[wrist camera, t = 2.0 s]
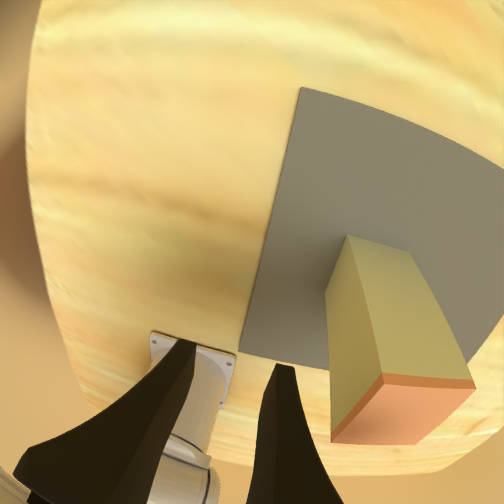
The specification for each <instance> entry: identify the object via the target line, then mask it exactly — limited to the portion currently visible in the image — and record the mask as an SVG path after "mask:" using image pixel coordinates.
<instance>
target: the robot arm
mask: <svg viewBox="0 0 504 504" xmlns="http://www.w3.org/2000/svg"><path fill="white" fill-rule="evenodd" d="M149 339H150V352H151V366H150V368H149V370H148V372H147V374H146V376H145V377H144V378H143V379H141V380H140V381H139V382H138V383H137V384H136V385H135V386H134V387H132V388H131V389H130V390H129V391H128V392H127V393H126V394H124V395H123V396H122V397H121V398H119V399H118V400H117V401H116V402H114V403H113V404H112V405H110V406H109V407H107V408H106V409H105V410H103V411H102V412H100V413H99V414H97V415H96V416H94V417H93V418H91V419H90V420H88V421H86V422H84V423H83V424H81V425H79V426H77V427H75V428H73V429H72V430H70V431H67V432H65V433H64V434H62V435H59V436H57V437H56V438H53V439H50V440H48V441H45V442H43V443H40V444H38V445H35V446H32V447H29V448H28V449H27V451H26V452H25V453H24V454H23V456H22V457H21V459H20V460H19V462H18V464H17V466H16V468H15V470H14V472H13V476H14V477H15V478H16V479H17V480H18V481H19V482H21V483H22V484H23V485H25V486H26V487H27V488H29V489H30V490H31V491H30V490H29V489H27V488H26V487H25V486H23V485H22V484H21V483H19V482H18V481H17V480H15V479H14V478H13V477H11V476H10V475H9V474H8V473H6V472H5V471H4V470H3V468H2V467H1V466H0V504H217V503H218V499H219V495H220V479H219V477H218V475H217V472H216V470H215V469H214V468H212V467H209V465H210V461H211V456H208V455H206V452H207V449H208V445H209V442H210V438H211V435H212V431H213V427H214V424H215V420H216V417H217V413H218V409H223V408H224V405H225V401H226V397H227V393H228V390H229V386H230V382H231V378H232V374H233V370H234V366H235V362H236V357H235V356H234V355H232V354H228V353H224V352H221V351H217V350H213V349H209V348H206V347H202V346H199V345H197V343H194V342H191V341H187V340H184V339H179V340H178V339H175V338H172V337H169V336H166V335H162V334H159V333H156V332H152V333H151V334H150V336H149ZM229 362H230V363H229ZM246 504H344V503H343V502H342V500H341V498H340V496H339V495H338V493H337V491H336V489H335V488H334V486H333V484H332V482H331V481H330V479H329V477H328V475H327V473H326V471H325V469H324V466H323V464H322V462H321V460H320V457H319V455H318V453H317V450H316V448H315V445H314V442H313V439H312V437H311V434H310V431H309V428H308V425H307V421H306V418H305V414H304V411H303V407H302V404H301V399H300V395H299V391H298V386H297V380H296V374H295V369H294V367H292V366H287V365H282V364H278V363H276V365H275V368H274V370H273V372H272V375H271V377H270V380H269V382H268V384H267V387H266V389H265V391H264V394H263V399H262V404H261V409H260V413H259V420H258V430H257V440H256V450H255V460H254V469H253V475H252V480H251V485H250V489H249V493H248V498H247V502H246Z"/></svg>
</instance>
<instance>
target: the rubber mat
mask: <svg viewBox="0 0 504 504" xmlns="http://www.w3.org/2000/svg"><path fill="white" fill-rule="evenodd" d="M347 235H351V236H354V237H358V238H361V239H365V240H369V241H372V242H376V243H379V244H383V245H386V246H390V247H393V248H397V249H400V250H403V251H407V252H409V253H410V255H411V256H412V258H413V260H414V261H415V263H416V265H417V266H418V268H419V270H420V272H421V273H422V275H423V277H424V279H425V280H426V282H427V284H428V286H429V288H430V289H431V291H432V293H433V295H434V297H435V299H436V301H437V302H438V304H439V306H440V308H441V310H442V312H443V314H444V316H445V318H446V320H447V322H448V324H449V326H450V328H451V330H452V333H453V335H454V337H455V339H456V341H457V343H458V346H459V348H460V350H461V352H462V355H463V357H464V359H465V362H466V364H467V363H468V362H469V361H470V360H471V358H472V357H473V356H474V355H475V353H476V352H477V351H478V350H479V348H480V347H481V346H482V344H483V343H484V342H485V340H486V339H487V337H488V336H489V335H490V333H491V332H492V330H493V329H494V328H495V326H496V325H497V323H498V322H499V320H500V319H501V317H502V316H503V314H504V169H502V168H501V167H499V166H497V165H496V164H494V163H492V162H491V161H489V160H487V159H485V158H484V157H482V156H480V155H478V154H477V153H475V152H473V151H471V150H469V149H467V148H465V147H463V146H462V145H460V144H458V143H456V142H454V141H452V140H450V139H448V138H446V137H443V136H441V135H439V134H437V133H435V132H433V131H431V130H428V129H426V128H424V127H422V126H419V125H417V124H415V123H412V122H410V121H407V120H405V119H402V118H400V117H397V116H395V115H392V114H389V113H387V112H384V111H381V110H379V109H376V108H373V107H370V106H367V105H364V104H361V103H358V102H355V101H352V100H348V99H345V98H342V97H338V96H335V95H332V94H328V93H324V92H321V91H317V90H313V89H309V88H305V87H301V91H300V95H299V100H298V104H297V108H296V113H295V117H294V122H293V126H292V130H291V135H290V139H289V143H288V148H287V152H286V156H285V160H284V165H283V169H282V173H281V178H280V182H279V186H278V190H277V194H276V199H275V203H274V207H273V211H272V215H271V220H270V224H269V228H268V232H267V236H266V240H265V245H264V249H263V253H262V257H261V261H260V265H259V269H258V273H257V278H256V282H255V286H254V290H253V294H252V298H251V302H250V306H249V310H248V314H247V318H246V322H245V326H244V330H243V334H242V338H241V342H240V346H239V350H238V352H242V353H246V354H251V355H255V356H259V357H264V358H268V359H273V360H277V361H282V362H287V363H292V364H297V365H302V366H307V367H312V368H318V369H324V370H329V371H330V369H329V347H328V330H327V315H326V302H325V291H326V288H327V286H328V283H329V281H330V278H331V276H332V273H333V271H334V268H335V266H336V263H337V260H338V258H339V255H340V252H341V250H342V247H343V244H344V242H345V239H346V236H347Z"/></svg>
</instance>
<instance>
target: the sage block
mask: <svg viewBox="0 0 504 504" xmlns="http://www.w3.org/2000/svg"><path fill="white" fill-rule="evenodd" d="M325 302H326V315H327V330H328V347H329V369H330V405H331V443H341V444H358V445H415V444H417V443H418V442H419V441H421V440H422V439H423V438H424V437H426V436H427V435H428V434H429V433H430V432H432V431H433V430H434V429H435V428H436V427H437V426H439V425H440V424H441V423H442V422H443V421H444V420H445V419H446V418H448V417H449V416H450V415H451V414H452V413H453V412H454V411H455V410H456V409H457V408H458V407H459V406H460V405H461V404H462V403H463V402H464V401H465V400H466V399H467V398H468V397H469V396H470V395H471V394H472V393H473V392H474V391H475V390H476V387H475V384H474V381H473V379H472V376H471V374H470V371H469V369H468V366H467V364H466V362H465V359H464V357H463V355H462V352H461V350H460V348H459V346H458V343H457V341H456V339H455V337H454V335H453V333H452V330H451V328H450V326H449V324H448V322H447V320H446V318H445V316H444V314H443V312H442V310H441V308H440V306H439V304H438V302H437V301H436V299H435V297H434V295H433V293H432V291H431V289H430V288H429V286H428V284H427V282H426V280H425V279H424V277H423V275H422V273H421V272H420V270H419V268H418V266H417V265H416V263H415V261H414V260H413V258H412V256H411V255H410V253H409V252H407V251H403V250H400V249H397V248H393V247H390V246H386V245H383V244H379V243H376V242H372V241H369V240H365V239H361V238H358V237H354V236H351V235H347V236H346V239H345V242H344V244H343V247H342V250H341V252H340V255H339V258H338V260H337V263H336V266H335V268H334V271H333V273H332V276H331V278H330V281H329V283H328V286H327V288H326V291H325Z"/></svg>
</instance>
